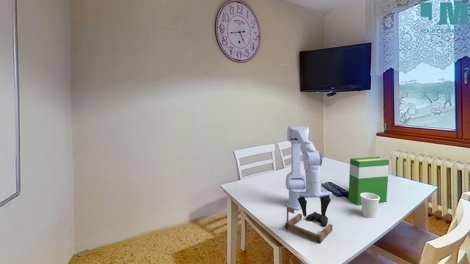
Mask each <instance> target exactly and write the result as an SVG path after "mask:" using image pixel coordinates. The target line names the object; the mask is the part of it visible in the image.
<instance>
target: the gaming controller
mask: <svg viewBox="0 0 470 264" xmlns="http://www.w3.org/2000/svg"><path fill="white" fill-rule="evenodd" d="M314 219H316V220H319V221H321V225H322V227H323V228H325V227H326V226H328V224H329V223H328V222H329V217H328V216H327V215H325V216H323V215H322V214H321V213H319V212H316V211H313V213H309V214H308V215H306V218H305V220H306V221H307V222H310V221H312V220H314Z"/></svg>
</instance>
